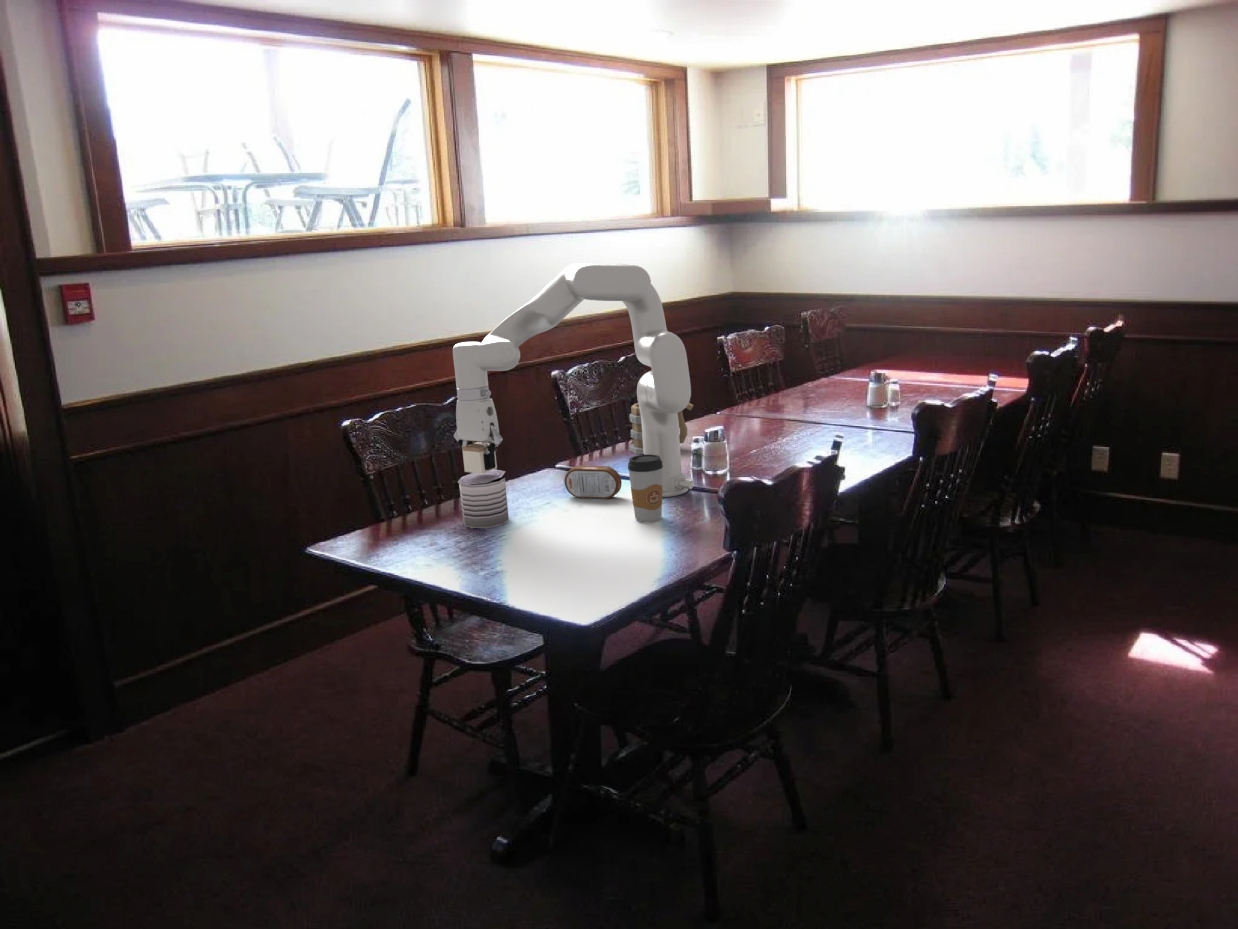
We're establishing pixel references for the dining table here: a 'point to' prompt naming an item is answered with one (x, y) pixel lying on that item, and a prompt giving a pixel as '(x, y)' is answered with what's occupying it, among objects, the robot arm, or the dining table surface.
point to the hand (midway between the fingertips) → (480, 466)
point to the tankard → (637, 428)
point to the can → (484, 499)
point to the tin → (593, 482)
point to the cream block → (475, 458)
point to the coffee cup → (646, 486)
